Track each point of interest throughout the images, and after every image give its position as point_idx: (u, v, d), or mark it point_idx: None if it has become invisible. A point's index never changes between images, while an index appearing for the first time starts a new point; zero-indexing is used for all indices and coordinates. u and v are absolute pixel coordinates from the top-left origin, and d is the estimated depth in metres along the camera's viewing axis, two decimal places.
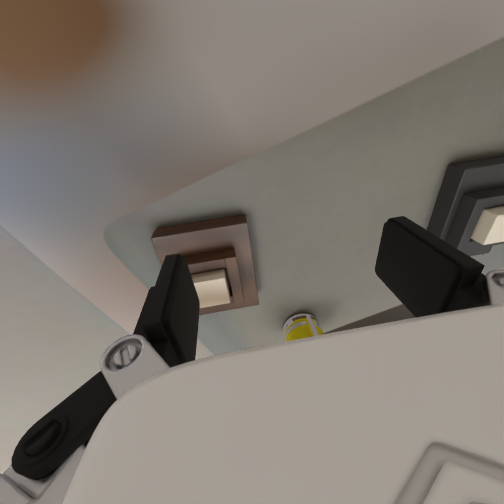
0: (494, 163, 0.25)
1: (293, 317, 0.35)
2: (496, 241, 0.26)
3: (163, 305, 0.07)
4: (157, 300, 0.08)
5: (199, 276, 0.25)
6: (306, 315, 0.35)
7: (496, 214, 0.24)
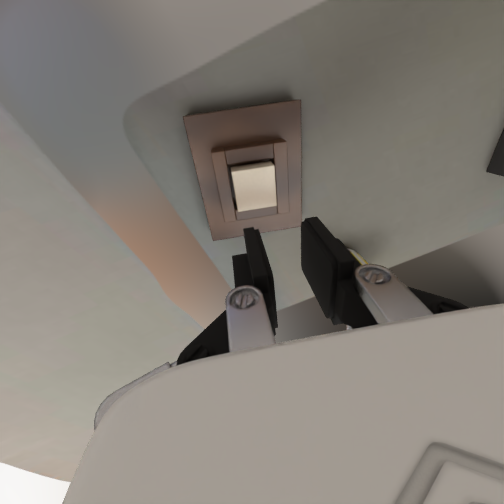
0: None
1: None
2: None
3: (264, 263, 0.09)
4: (256, 260, 0.09)
5: (241, 167, 0.20)
6: (350, 250, 0.31)
7: None
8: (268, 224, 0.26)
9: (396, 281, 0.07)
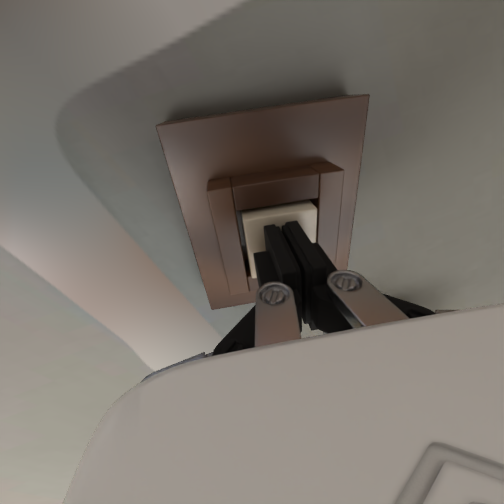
0: None
1: None
2: None
3: (290, 259, 0.09)
4: (282, 256, 0.09)
5: (259, 209, 0.12)
6: None
7: None
8: None
9: (367, 285, 0.07)
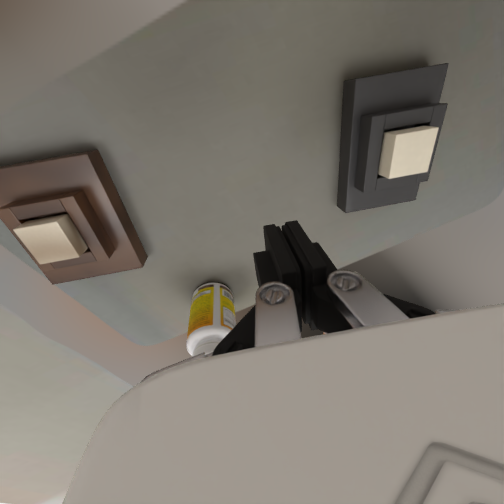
0: (394, 72, 0.20)
1: (200, 287, 0.31)
2: (404, 173, 0.21)
3: (290, 259, 0.09)
4: (282, 256, 0.09)
5: (31, 222, 0.20)
6: (214, 284, 0.31)
7: (395, 134, 0.19)
8: (105, 267, 0.26)
9: (367, 285, 0.07)
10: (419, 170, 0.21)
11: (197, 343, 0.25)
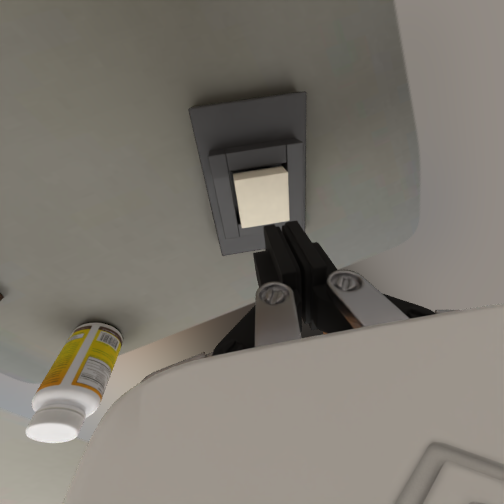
0: (239, 100, 0.16)
1: (77, 328, 0.27)
2: (260, 223, 0.17)
3: (290, 259, 0.09)
4: (282, 256, 0.09)
5: None
6: (93, 325, 0.27)
7: (235, 179, 0.16)
8: None
9: (367, 285, 0.07)
10: (278, 219, 0.17)
11: (40, 406, 0.21)
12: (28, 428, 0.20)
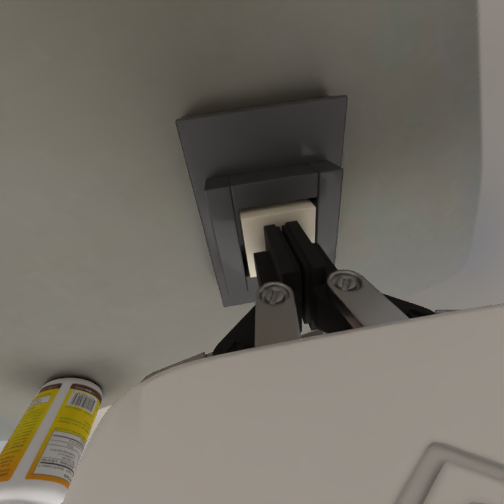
0: (250, 109, 0.11)
1: (44, 385, 0.22)
2: None
3: (290, 259, 0.09)
4: (282, 256, 0.09)
5: None
6: (64, 382, 0.22)
7: (243, 216, 0.11)
8: None
9: (367, 285, 0.07)
10: None
11: None
12: None
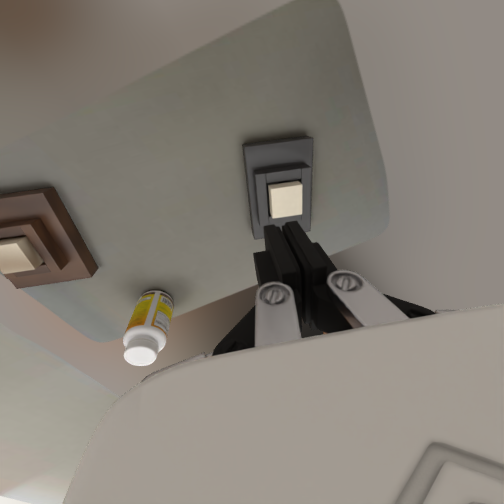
0: (273, 142, 0.27)
1: (144, 293, 0.37)
2: (284, 215, 0.28)
3: (290, 259, 0.09)
4: (282, 256, 0.09)
5: None
6: (156, 292, 0.37)
7: (271, 188, 0.26)
8: (60, 276, 0.32)
9: (367, 285, 0.07)
10: (295, 213, 0.28)
11: (130, 339, 0.31)
12: (127, 350, 0.30)
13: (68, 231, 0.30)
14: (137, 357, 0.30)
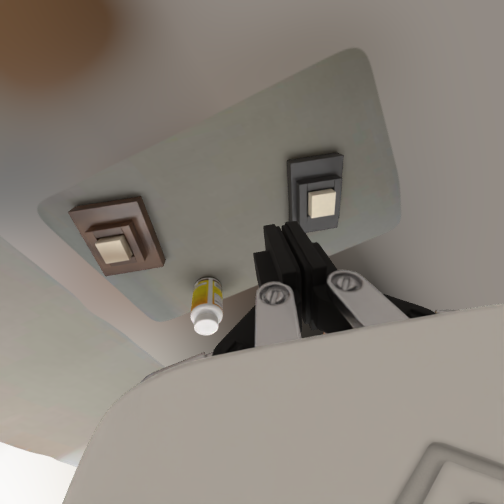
0: (313, 159, 0.35)
1: (199, 280, 0.46)
2: (320, 215, 0.36)
3: (290, 259, 0.09)
4: (282, 256, 0.09)
5: (103, 239, 0.35)
6: (209, 278, 0.45)
7: (312, 195, 0.34)
8: (140, 266, 0.40)
9: (368, 285, 0.07)
10: (329, 213, 0.36)
11: (197, 314, 0.40)
12: (197, 322, 0.38)
13: (150, 230, 0.38)
14: (204, 328, 0.39)
